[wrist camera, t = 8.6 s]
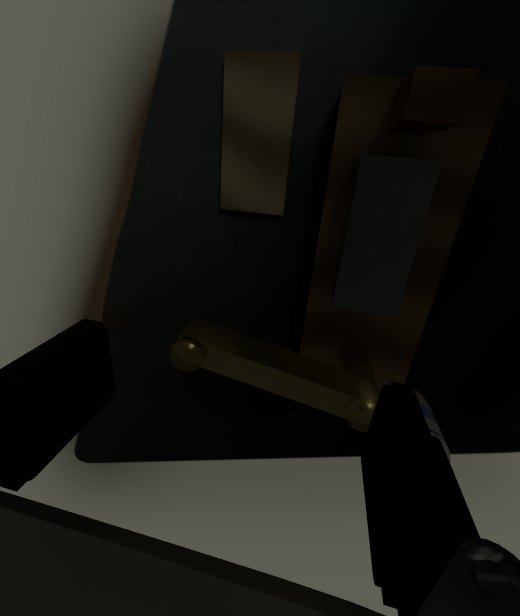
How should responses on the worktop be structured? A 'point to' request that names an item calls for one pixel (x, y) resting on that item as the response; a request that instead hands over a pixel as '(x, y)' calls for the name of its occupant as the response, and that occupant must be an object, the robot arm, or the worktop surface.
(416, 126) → the plane body
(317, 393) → the lever
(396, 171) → the black rectangular block
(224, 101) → the cork pad
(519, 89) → the worktop surface
